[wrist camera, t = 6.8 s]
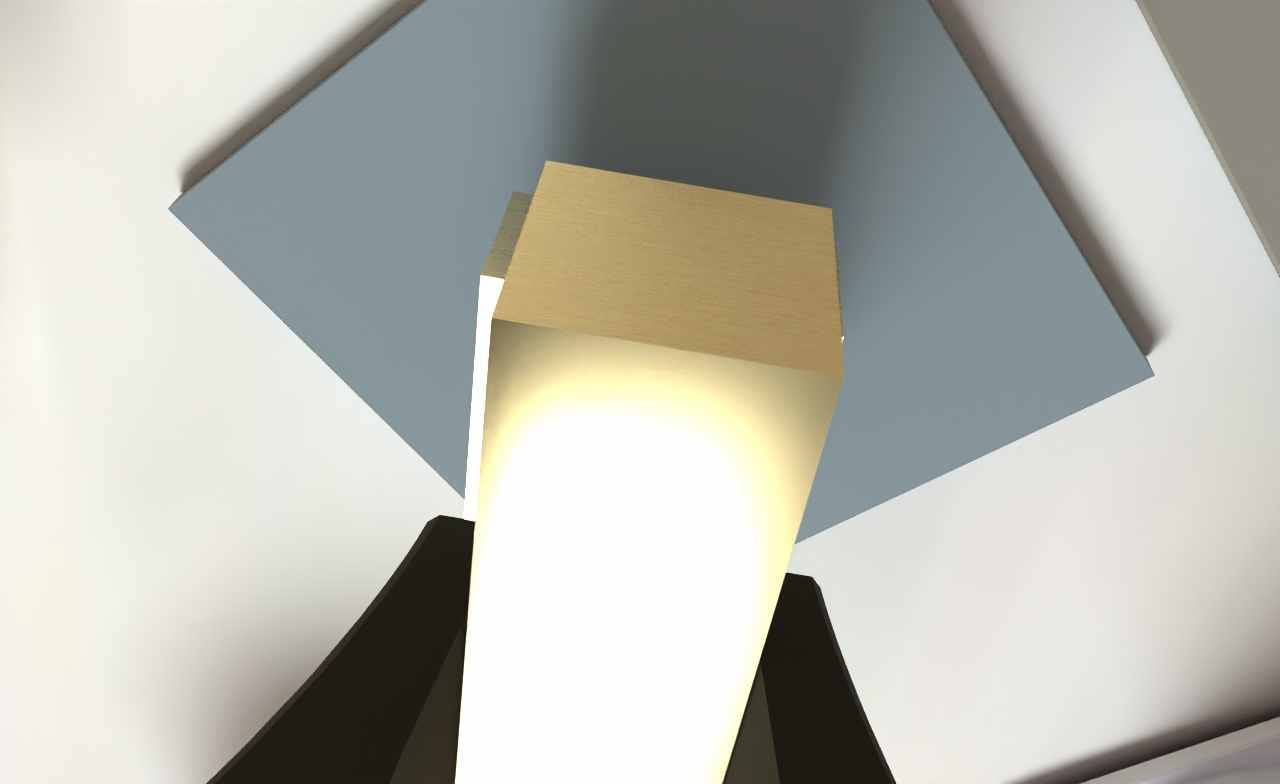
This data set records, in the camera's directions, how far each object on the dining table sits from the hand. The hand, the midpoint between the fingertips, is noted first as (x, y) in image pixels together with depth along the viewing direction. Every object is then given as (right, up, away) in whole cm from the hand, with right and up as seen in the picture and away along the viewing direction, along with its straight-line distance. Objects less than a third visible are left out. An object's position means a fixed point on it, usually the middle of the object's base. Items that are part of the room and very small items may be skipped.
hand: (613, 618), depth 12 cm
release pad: (+1, +4, +6) cm, 7 cm away
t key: (0, +3, +4) cm, 5 cm away
